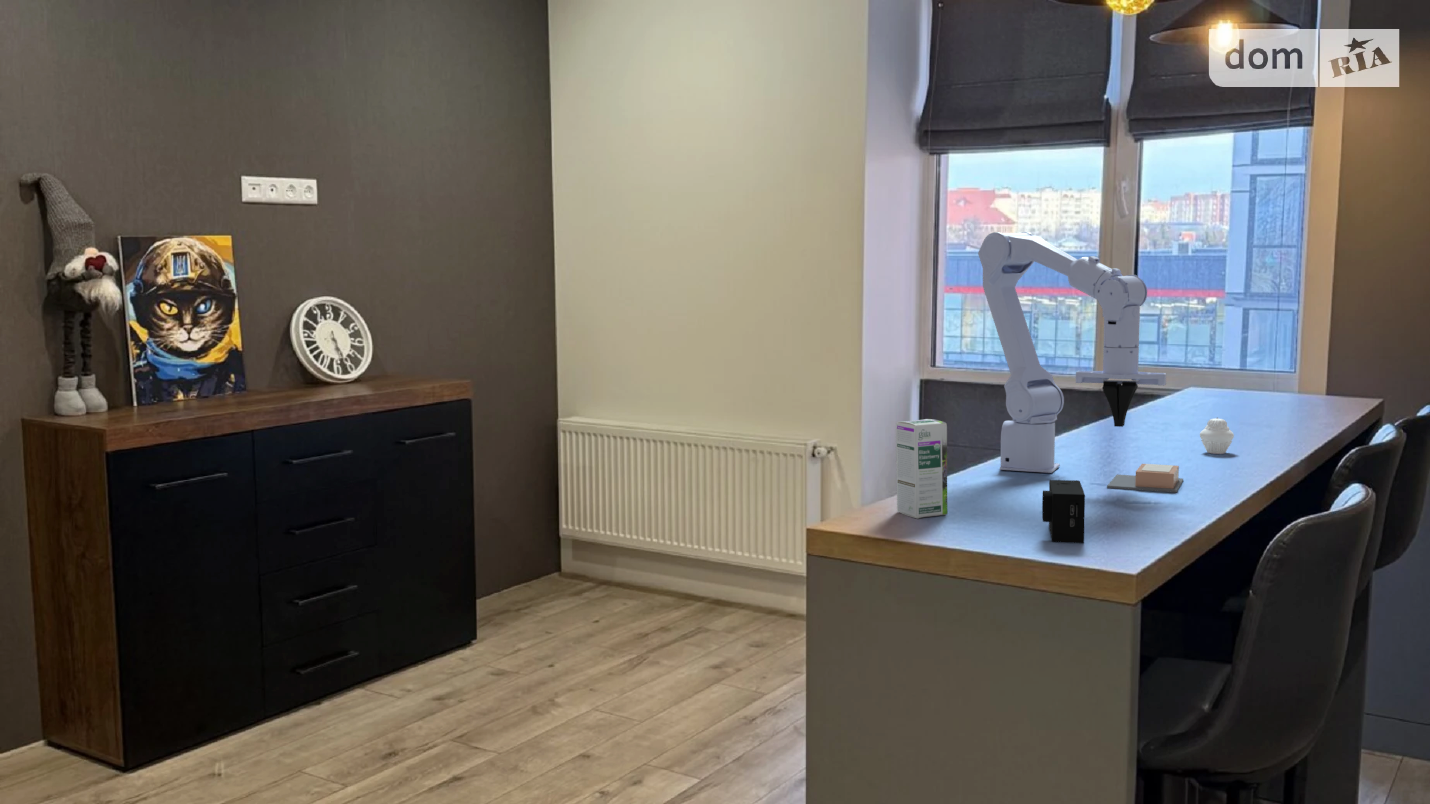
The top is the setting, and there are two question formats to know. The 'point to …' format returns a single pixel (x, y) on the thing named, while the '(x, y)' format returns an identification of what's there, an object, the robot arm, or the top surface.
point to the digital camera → (1064, 510)
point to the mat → (1129, 483)
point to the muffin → (1216, 436)
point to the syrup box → (921, 468)
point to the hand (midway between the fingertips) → (1119, 425)
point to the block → (1157, 476)
